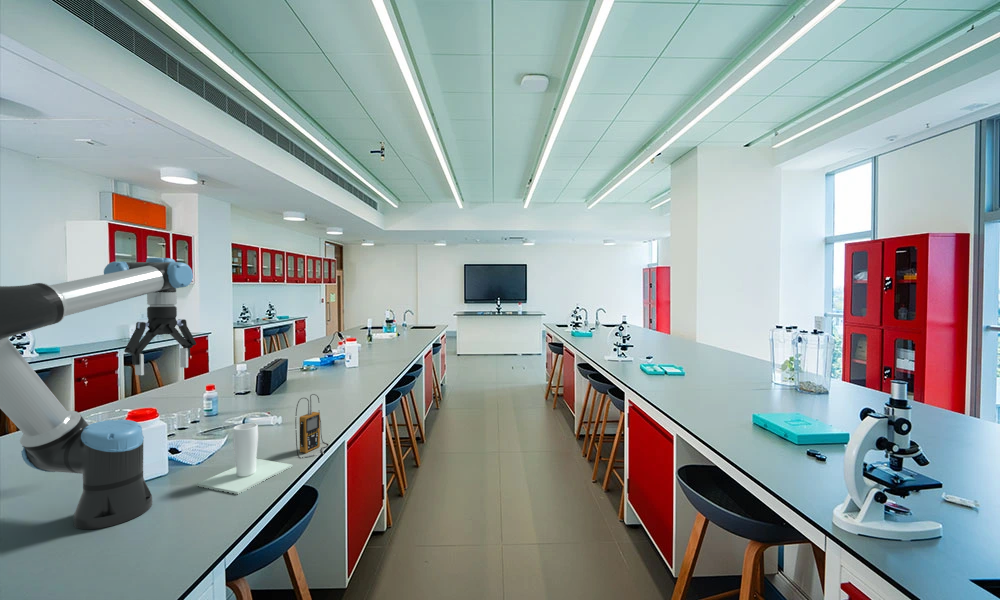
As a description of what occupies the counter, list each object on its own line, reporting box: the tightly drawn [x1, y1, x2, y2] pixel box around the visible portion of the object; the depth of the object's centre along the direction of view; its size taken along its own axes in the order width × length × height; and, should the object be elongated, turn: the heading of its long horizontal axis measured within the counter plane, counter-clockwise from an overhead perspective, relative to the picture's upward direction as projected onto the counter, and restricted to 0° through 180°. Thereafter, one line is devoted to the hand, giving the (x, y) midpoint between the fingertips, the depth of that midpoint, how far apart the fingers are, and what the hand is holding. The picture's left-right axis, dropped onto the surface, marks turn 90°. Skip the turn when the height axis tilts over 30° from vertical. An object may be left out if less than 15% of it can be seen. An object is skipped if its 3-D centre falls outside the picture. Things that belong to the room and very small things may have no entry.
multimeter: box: [295, 393, 329, 459], centre depth 154 cm, size 15×10×20 cm
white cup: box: [232, 422, 259, 477], centre depth 133 cm, size 7×7×15 cm
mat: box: [196, 458, 293, 495], centre depth 133 cm, size 20×16×1 cm
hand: (163, 371), depth 138 cm, fingers open, 13 cm apart
